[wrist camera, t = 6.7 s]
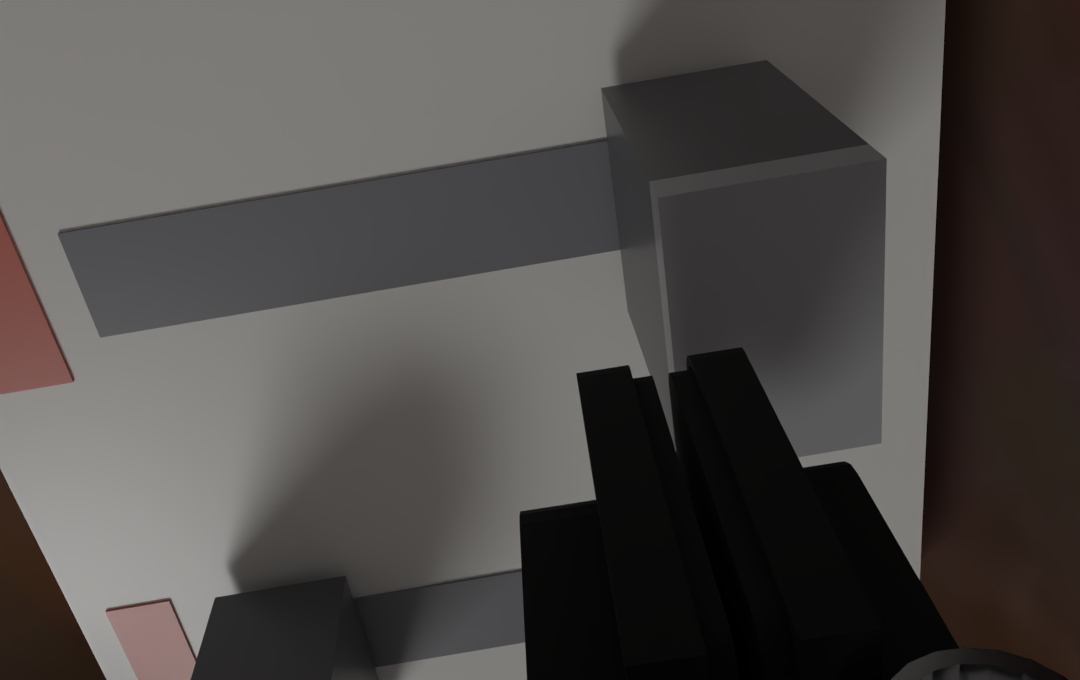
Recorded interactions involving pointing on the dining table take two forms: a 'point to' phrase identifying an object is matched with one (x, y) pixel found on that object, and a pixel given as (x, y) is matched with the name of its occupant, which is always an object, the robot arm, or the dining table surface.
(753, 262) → the block
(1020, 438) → the dining table surface
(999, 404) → the dining table surface
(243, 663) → the block
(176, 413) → the breaker panel
